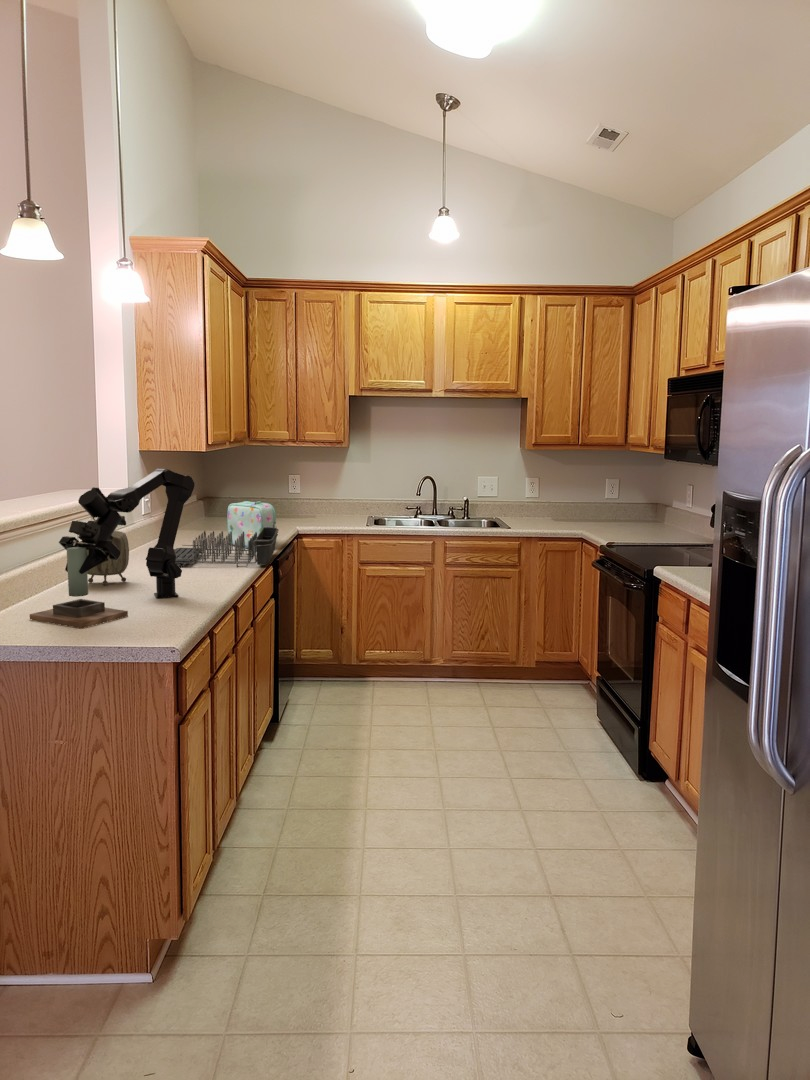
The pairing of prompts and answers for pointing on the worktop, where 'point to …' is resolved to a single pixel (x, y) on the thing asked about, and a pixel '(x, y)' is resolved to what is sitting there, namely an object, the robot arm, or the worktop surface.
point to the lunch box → (249, 519)
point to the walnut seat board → (79, 613)
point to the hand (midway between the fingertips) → (73, 572)
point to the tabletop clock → (113, 565)
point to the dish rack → (256, 544)
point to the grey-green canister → (76, 572)
